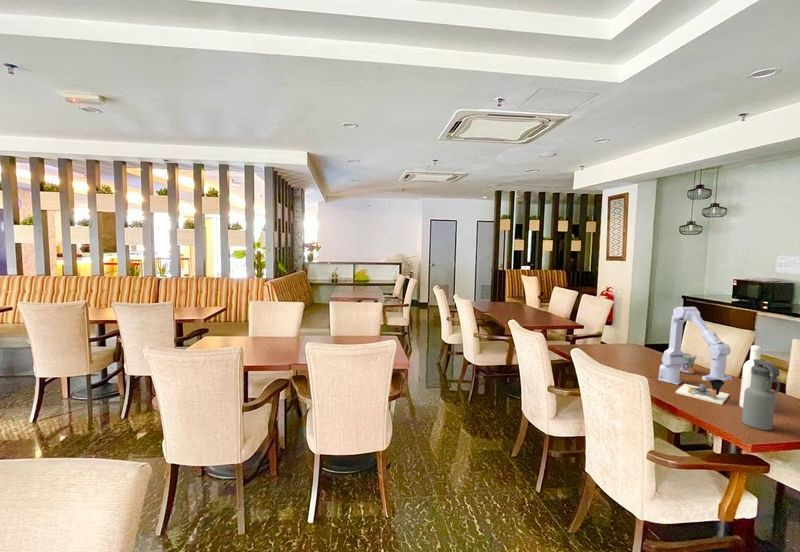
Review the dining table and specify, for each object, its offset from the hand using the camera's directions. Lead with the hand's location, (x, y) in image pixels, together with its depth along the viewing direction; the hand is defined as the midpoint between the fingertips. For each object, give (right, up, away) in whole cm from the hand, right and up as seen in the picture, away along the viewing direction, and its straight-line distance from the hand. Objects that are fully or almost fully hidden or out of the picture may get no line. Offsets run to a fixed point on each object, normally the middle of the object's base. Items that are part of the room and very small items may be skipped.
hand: (715, 394), depth 197 cm
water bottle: (-4, -5, -28) cm, 29 cm away
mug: (+17, 0, +45) cm, 48 cm away
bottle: (+9, -4, -9) cm, 14 cm away
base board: (-1, -2, +7) cm, 7 cm away
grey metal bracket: (-1, -1, +4) cm, 5 cm away
